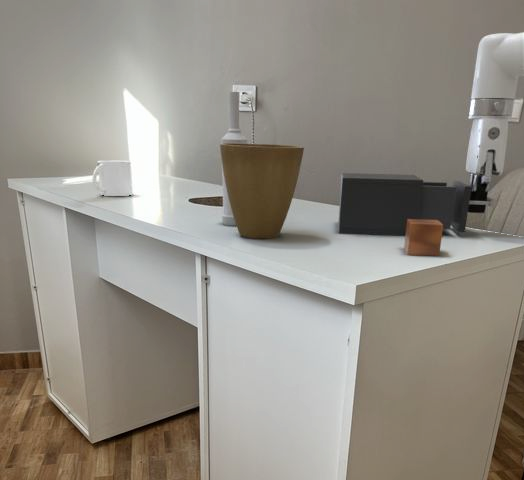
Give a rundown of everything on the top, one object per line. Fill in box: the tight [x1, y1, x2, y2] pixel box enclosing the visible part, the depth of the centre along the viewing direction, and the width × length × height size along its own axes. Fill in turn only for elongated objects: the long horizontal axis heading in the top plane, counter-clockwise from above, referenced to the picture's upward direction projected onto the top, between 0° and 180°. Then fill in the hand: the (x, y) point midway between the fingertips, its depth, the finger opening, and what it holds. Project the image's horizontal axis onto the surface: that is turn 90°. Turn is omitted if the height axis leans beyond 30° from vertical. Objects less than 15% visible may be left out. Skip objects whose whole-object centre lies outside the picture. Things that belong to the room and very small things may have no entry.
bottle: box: [220, 91, 248, 227], centre depth 111 cm, size 5×5×25 cm
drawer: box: [419, 180, 498, 233], centre depth 109 cm, size 19×12×8 cm, turn 83°
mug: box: [91, 159, 134, 197], centre depth 158 cm, size 12×9×9 cm
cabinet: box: [337, 172, 424, 237], centre depth 111 cm, size 15×13×10 cm
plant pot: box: [219, 142, 305, 239], centre depth 101 cm, size 15×15×16 cm
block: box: [403, 219, 444, 257], centre depth 91 cm, size 5×5×5 cm
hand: (475, 212), depth 109 cm, fingers closed
